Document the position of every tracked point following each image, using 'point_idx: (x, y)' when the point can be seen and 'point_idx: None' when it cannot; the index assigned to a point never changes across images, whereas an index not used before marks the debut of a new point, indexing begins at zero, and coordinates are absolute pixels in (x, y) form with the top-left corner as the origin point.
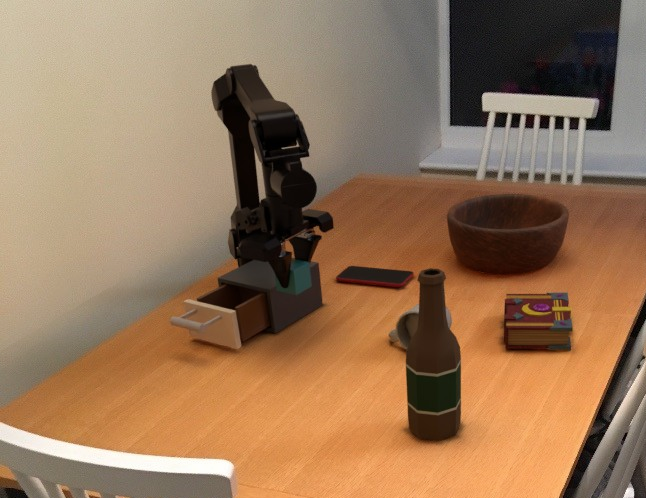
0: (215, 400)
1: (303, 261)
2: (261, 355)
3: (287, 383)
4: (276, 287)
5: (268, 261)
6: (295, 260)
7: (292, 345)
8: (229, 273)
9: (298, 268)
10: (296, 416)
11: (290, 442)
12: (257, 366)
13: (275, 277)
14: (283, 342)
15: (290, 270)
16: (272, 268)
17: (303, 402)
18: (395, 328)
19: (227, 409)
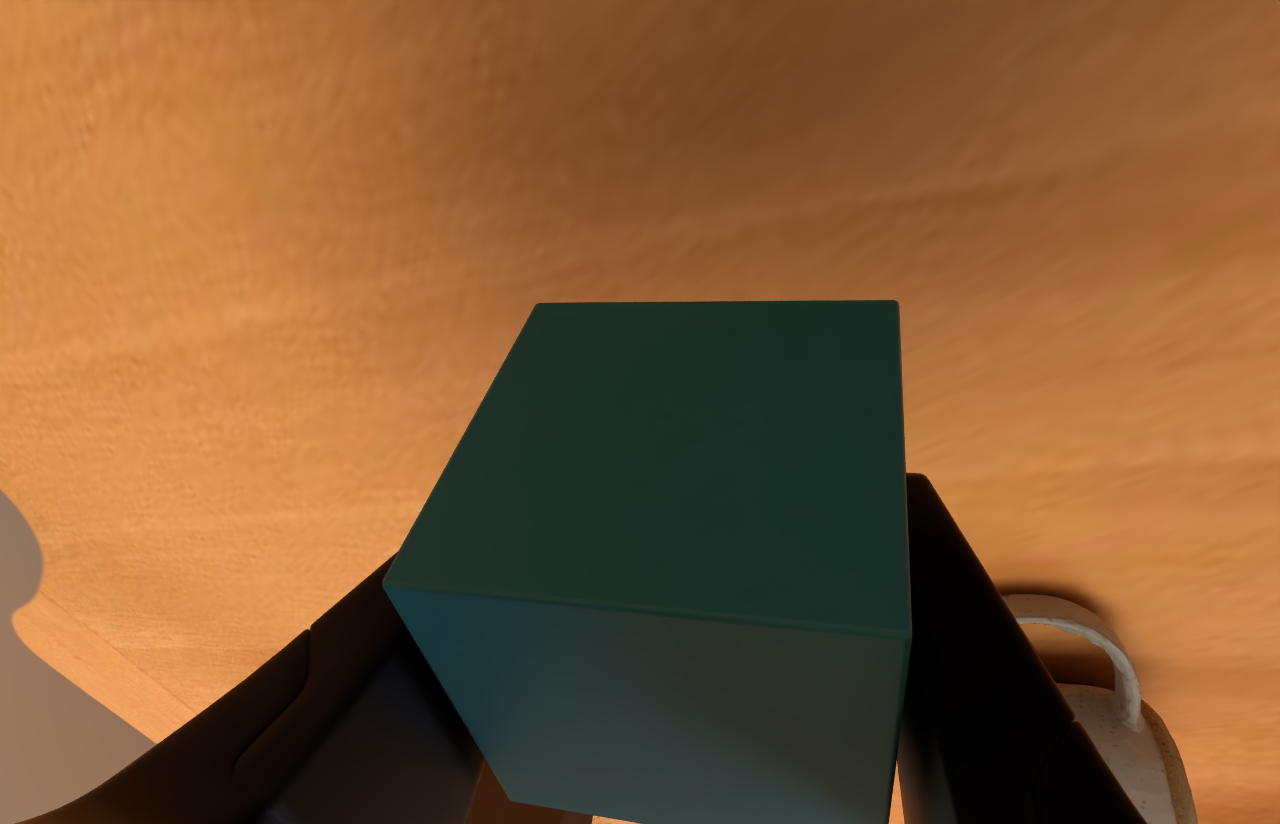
0: (11, 252)
1: (866, 821)
2: (411, 92)
3: (360, 419)
4: (522, 334)
5: (115, 791)
6: (846, 741)
7: (657, 176)
8: None
9: (613, 813)
10: (274, 550)
11: (200, 591)
12: (318, 184)
13: (467, 442)
14: (653, 79)
15: (494, 772)
16: (271, 664)
17: (337, 530)
18: (1078, 629)
19: (53, 345)
